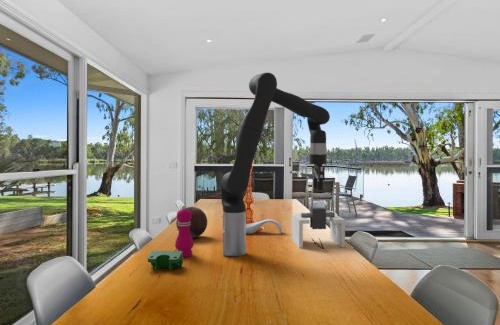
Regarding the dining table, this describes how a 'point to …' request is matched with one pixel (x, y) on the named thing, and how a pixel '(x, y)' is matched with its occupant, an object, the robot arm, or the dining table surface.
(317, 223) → the gray u-channel post
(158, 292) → the dining table surface
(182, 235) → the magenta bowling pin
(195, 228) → the wooden sphere
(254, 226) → the white curved piece
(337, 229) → the white channel bracket
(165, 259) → the clamp
